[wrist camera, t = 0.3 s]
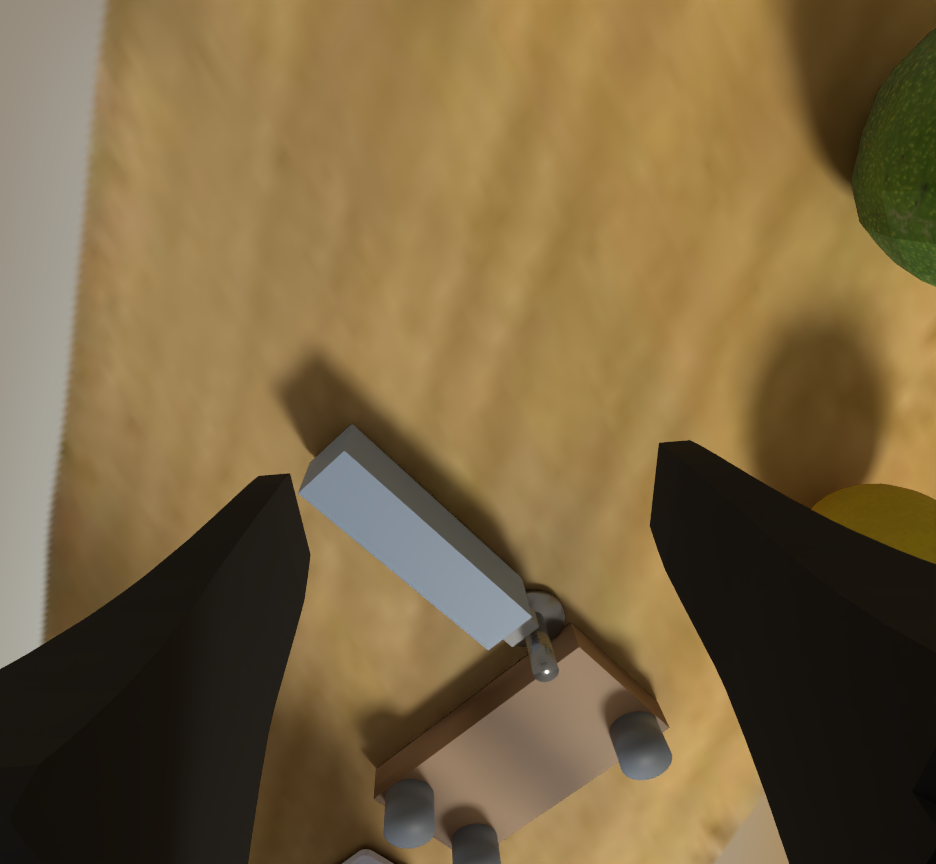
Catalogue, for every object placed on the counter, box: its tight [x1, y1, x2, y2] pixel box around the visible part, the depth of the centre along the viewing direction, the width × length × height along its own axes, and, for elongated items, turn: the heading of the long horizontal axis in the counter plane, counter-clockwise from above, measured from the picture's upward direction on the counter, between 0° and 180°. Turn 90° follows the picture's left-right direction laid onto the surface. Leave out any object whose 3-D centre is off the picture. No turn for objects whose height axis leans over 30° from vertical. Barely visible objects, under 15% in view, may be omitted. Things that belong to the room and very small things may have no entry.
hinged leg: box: [298, 424, 539, 650], centre depth 22 cm, size 11×2×2 cm, turn 42°
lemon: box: [811, 484, 936, 564], centre depth 21 cm, size 6×6×8 cm
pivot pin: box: [516, 590, 565, 682], centre depth 24 cm, size 3×3×3 cm
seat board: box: [374, 623, 672, 864], centre depth 27 cm, size 12×7×3 cm, turn 132°
